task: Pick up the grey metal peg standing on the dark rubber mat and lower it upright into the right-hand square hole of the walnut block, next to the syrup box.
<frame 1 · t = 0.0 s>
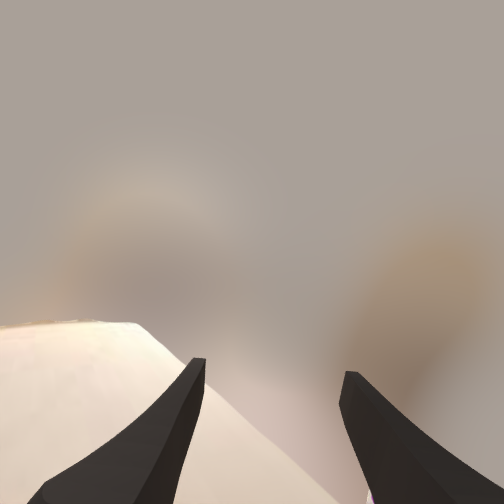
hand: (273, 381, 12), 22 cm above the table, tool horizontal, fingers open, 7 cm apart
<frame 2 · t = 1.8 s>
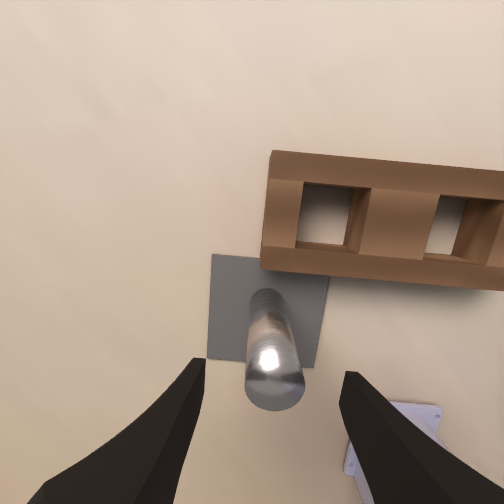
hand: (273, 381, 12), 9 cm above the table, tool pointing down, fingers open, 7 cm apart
peg: (266, 304, 20), resting on rubber mat
walnut hole block: (375, 220, 19), on the table
rubber mat: (265, 312, 21), on the table
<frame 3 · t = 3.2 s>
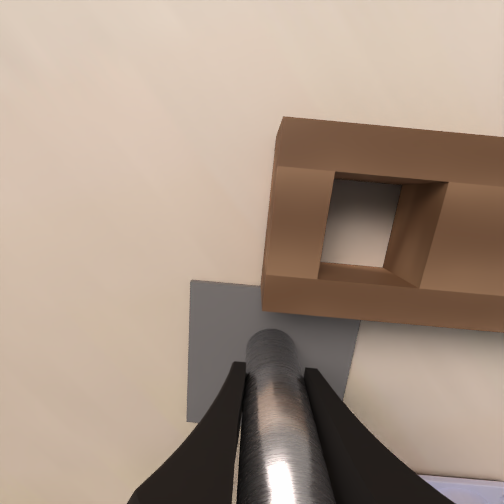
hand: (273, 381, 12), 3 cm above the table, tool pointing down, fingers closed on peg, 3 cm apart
peg: (270, 350, 14), resting on rubber mat, touching gripper
walnut hole block: (433, 231, 13), on the table
rubber mat: (268, 361, 15), on the table
when the fingers open (4 cm above the table, at t = 6.4 s): peg drops 1 cm, resting in walnut hole block.
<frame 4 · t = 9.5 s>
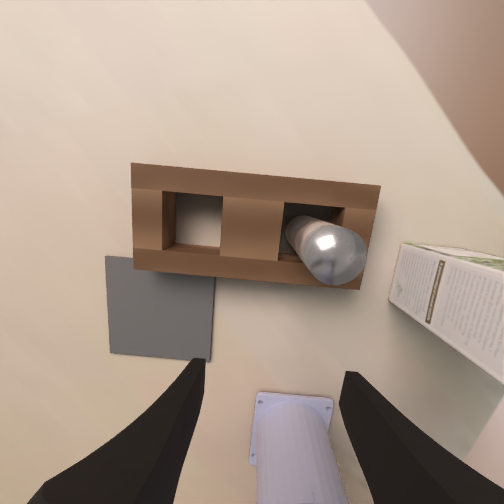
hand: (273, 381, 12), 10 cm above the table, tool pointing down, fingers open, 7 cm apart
syrup box: (422, 273, 21), on the table
peg: (302, 232, 21), resting in walnut hole block
walnut hole block: (251, 225, 20), on the table
rubber mat: (161, 310, 22), on the table
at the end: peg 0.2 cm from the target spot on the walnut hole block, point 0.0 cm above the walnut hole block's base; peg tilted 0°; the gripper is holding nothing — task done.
